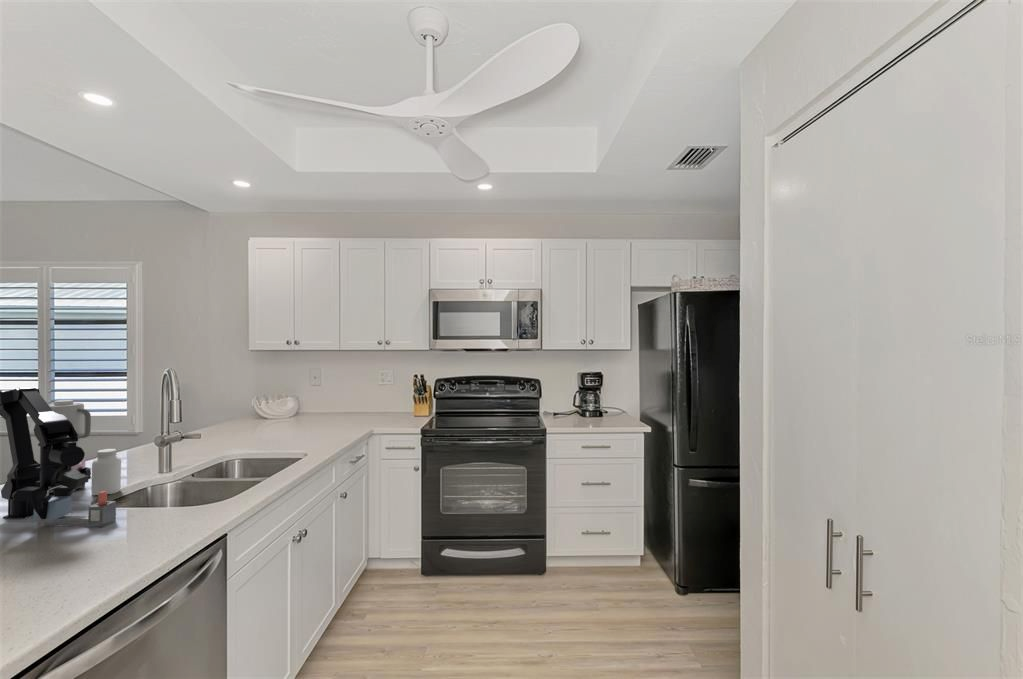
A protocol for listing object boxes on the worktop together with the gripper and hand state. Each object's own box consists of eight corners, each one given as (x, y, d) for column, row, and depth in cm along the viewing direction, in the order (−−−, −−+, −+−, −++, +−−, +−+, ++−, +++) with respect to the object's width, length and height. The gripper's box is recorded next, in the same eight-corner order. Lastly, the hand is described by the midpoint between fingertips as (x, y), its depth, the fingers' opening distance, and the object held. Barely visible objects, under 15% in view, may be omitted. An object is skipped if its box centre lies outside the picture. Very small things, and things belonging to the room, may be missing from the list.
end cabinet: (87, 527, 141) (87, 507, 141) (101, 521, 147) (102, 501, 147) (102, 527, 142) (102, 507, 142) (115, 521, 147) (115, 501, 147)
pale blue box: (33, 519, 141) (33, 502, 141) (50, 512, 146) (50, 496, 146) (55, 519, 141) (55, 502, 141) (71, 512, 146) (71, 496, 146)
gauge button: (96, 510, 143) (96, 493, 143) (101, 507, 145) (101, 490, 145) (103, 510, 143) (103, 493, 143) (108, 507, 145) (108, 491, 145)
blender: (27, 495, 168) (29, 402, 168) (60, 485, 180) (62, 398, 180) (73, 496, 168) (74, 403, 168) (103, 486, 180) (104, 399, 180)
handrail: (43, 525, 142) (43, 519, 142) (50, 522, 145) (51, 516, 145) (90, 525, 143) (90, 519, 143) (96, 522, 145) (96, 516, 145)
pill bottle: (104, 497, 168) (104, 453, 168) (85, 495, 170) (85, 452, 170) (126, 490, 176) (127, 448, 176) (108, 488, 177) (108, 447, 177)
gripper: (53, 471, 135) (53, 527, 135) (106, 454, 153) (106, 504, 153) (11, 470, 134) (10, 527, 134) (69, 454, 153) (69, 504, 153)
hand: (52, 515), depth 144 cm, fingers closed on pale blue box, 5 cm apart
